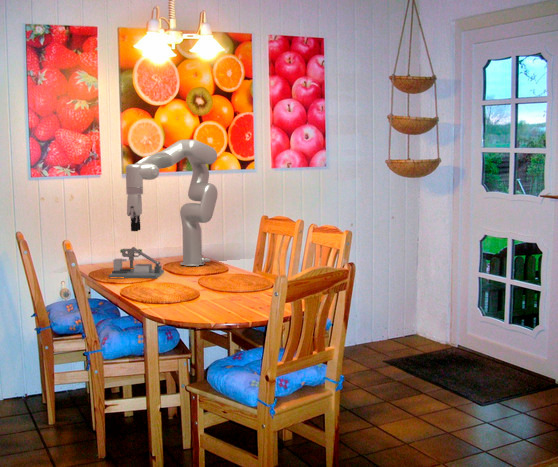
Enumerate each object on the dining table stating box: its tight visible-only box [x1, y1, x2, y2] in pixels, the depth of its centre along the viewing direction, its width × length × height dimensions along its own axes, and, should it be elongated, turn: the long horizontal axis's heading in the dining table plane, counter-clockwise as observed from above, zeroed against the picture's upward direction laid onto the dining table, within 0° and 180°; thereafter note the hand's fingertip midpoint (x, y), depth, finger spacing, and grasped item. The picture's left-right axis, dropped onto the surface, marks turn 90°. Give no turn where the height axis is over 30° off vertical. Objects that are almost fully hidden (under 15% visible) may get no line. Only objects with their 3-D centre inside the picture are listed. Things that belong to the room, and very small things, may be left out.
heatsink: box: [133, 263, 153, 274], centre depth 322 cm, size 7×7×3 cm
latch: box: [112, 258, 128, 271], centre depth 322 cm, size 5×4×6 cm
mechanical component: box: [119, 248, 143, 269], centre depth 339 cm, size 3×10×10 cm, turn 89°
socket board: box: [108, 264, 165, 280], centre depth 322 cm, size 22×16×4 cm
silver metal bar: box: [130, 246, 161, 266], centre depth 321 cm, size 15×3×2 cm
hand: (135, 230), depth 320 cm, fingers open, 3 cm apart
